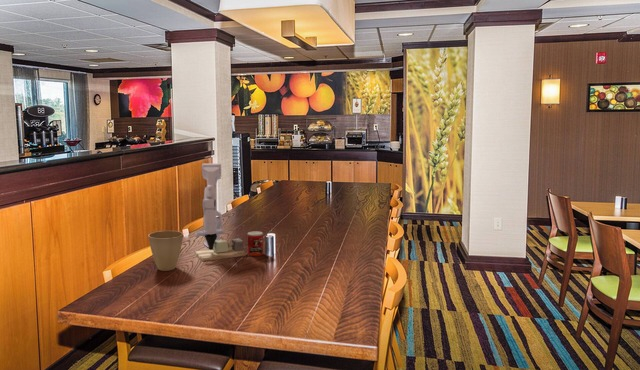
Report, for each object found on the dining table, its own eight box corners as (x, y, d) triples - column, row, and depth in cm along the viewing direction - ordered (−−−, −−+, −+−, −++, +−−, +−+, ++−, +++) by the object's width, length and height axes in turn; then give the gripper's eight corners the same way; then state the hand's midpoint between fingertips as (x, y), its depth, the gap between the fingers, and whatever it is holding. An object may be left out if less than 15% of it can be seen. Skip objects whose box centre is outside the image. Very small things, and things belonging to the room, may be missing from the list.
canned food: (248, 257, 244) (248, 235, 243) (246, 252, 252) (246, 231, 250) (264, 255, 246) (264, 234, 245) (261, 251, 254) (261, 230, 252)
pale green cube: (213, 250, 248) (212, 240, 248) (224, 248, 251) (224, 239, 251) (216, 252, 244) (215, 242, 243) (227, 251, 247) (227, 241, 246)
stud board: (194, 254, 249) (194, 241, 248) (236, 248, 259) (236, 236, 258) (202, 261, 237) (201, 248, 236) (245, 255, 247) (245, 242, 246)
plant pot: (148, 274, 216) (147, 239, 214) (150, 265, 230) (149, 231, 228) (184, 272, 220) (183, 237, 218) (184, 262, 234) (182, 229, 232)
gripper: (197, 225, 236) (198, 253, 238) (227, 222, 243) (227, 249, 245) (193, 222, 243) (194, 249, 245) (222, 219, 249) (223, 246, 251)
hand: (210, 249), depth 245 cm, fingers closed
